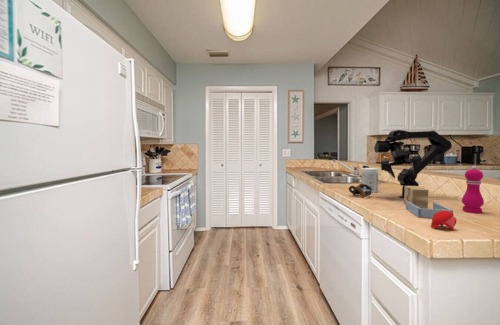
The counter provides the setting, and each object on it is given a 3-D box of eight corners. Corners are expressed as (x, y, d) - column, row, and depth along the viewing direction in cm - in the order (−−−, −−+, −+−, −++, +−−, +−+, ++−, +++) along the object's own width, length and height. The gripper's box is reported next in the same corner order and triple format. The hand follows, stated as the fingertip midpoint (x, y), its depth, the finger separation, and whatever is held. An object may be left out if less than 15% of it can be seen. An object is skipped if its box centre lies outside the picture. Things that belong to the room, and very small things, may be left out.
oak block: (403, 203, 128) (404, 185, 128) (417, 204, 127) (418, 186, 126) (412, 209, 117) (413, 189, 116) (427, 209, 115) (428, 189, 115)
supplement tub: (369, 189, 170) (370, 167, 169) (381, 192, 161) (382, 168, 160) (357, 190, 167) (358, 168, 166) (369, 193, 158) (369, 169, 157)
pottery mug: (366, 195, 151) (372, 184, 147) (368, 205, 144) (374, 194, 139) (346, 190, 154) (351, 179, 149) (346, 199, 146) (351, 188, 141)
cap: (446, 215, 92) (431, 206, 93) (461, 214, 87) (445, 204, 87) (439, 235, 90) (424, 226, 90) (454, 235, 84) (438, 225, 85)
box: (405, 208, 117) (405, 200, 117) (434, 210, 114) (435, 202, 114) (418, 217, 102) (419, 208, 102) (452, 219, 99) (453, 210, 99)
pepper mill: (474, 209, 115) (476, 165, 114) (487, 213, 108) (490, 166, 107) (457, 209, 116) (459, 165, 114) (469, 213, 108) (471, 166, 107)
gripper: (378, 146, 138) (385, 171, 129) (418, 139, 131) (428, 165, 123) (378, 158, 146) (384, 182, 137) (415, 152, 140) (424, 176, 131)
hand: (404, 176), depth 132 cm, fingers open, 9 cm apart
